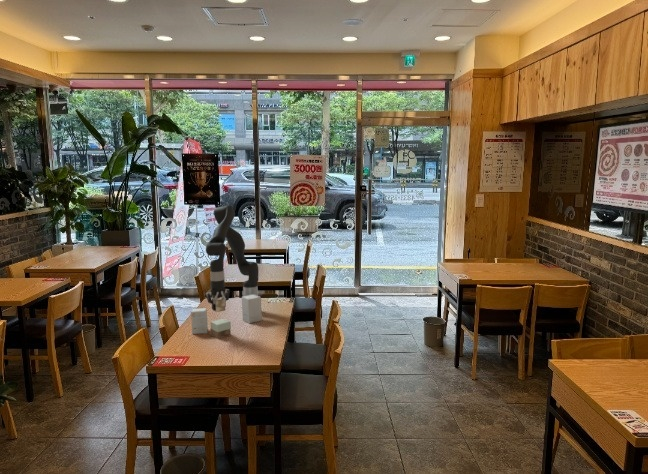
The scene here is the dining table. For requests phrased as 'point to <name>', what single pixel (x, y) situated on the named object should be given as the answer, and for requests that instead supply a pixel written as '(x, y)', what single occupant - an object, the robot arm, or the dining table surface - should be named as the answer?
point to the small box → (199, 321)
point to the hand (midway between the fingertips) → (219, 309)
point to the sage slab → (220, 325)
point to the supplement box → (251, 308)
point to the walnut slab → (220, 333)
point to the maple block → (220, 305)
